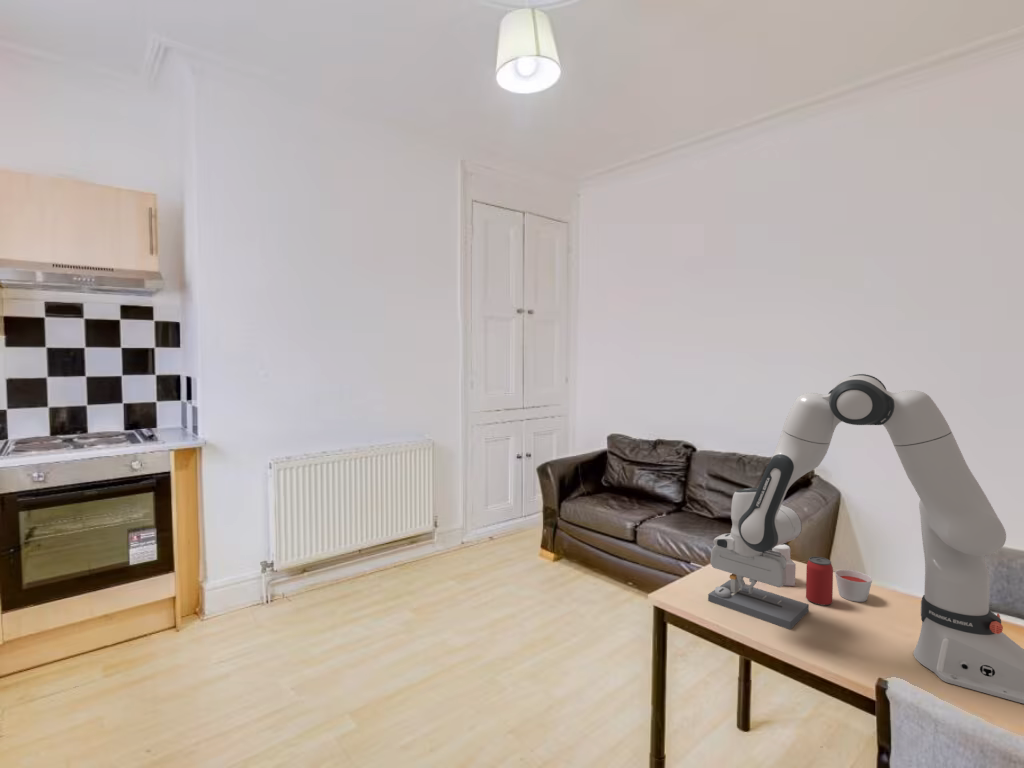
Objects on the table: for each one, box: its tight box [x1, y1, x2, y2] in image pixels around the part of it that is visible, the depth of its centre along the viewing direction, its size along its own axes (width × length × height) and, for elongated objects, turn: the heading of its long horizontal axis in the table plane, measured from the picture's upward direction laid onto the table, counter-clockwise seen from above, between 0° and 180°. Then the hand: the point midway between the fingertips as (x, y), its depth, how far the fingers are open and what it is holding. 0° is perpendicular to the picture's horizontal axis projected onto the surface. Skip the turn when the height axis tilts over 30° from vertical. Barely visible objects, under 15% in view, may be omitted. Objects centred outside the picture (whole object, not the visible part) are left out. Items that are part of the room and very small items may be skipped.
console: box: [707, 579, 810, 630], centre depth 145 cm, size 22×14×4 cm, turn 43°
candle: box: [834, 569, 873, 603], centre depth 150 cm, size 9×9×6 cm
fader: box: [729, 573, 739, 593], centre depth 150 cm, size 2×4×5 cm, turn 133°
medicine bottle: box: [770, 542, 797, 587], centre depth 161 cm, size 7×7×12 cm
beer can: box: [805, 556, 834, 606], centre depth 148 cm, size 7×7×12 cm
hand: (746, 591), depth 147 cm, fingers closed
